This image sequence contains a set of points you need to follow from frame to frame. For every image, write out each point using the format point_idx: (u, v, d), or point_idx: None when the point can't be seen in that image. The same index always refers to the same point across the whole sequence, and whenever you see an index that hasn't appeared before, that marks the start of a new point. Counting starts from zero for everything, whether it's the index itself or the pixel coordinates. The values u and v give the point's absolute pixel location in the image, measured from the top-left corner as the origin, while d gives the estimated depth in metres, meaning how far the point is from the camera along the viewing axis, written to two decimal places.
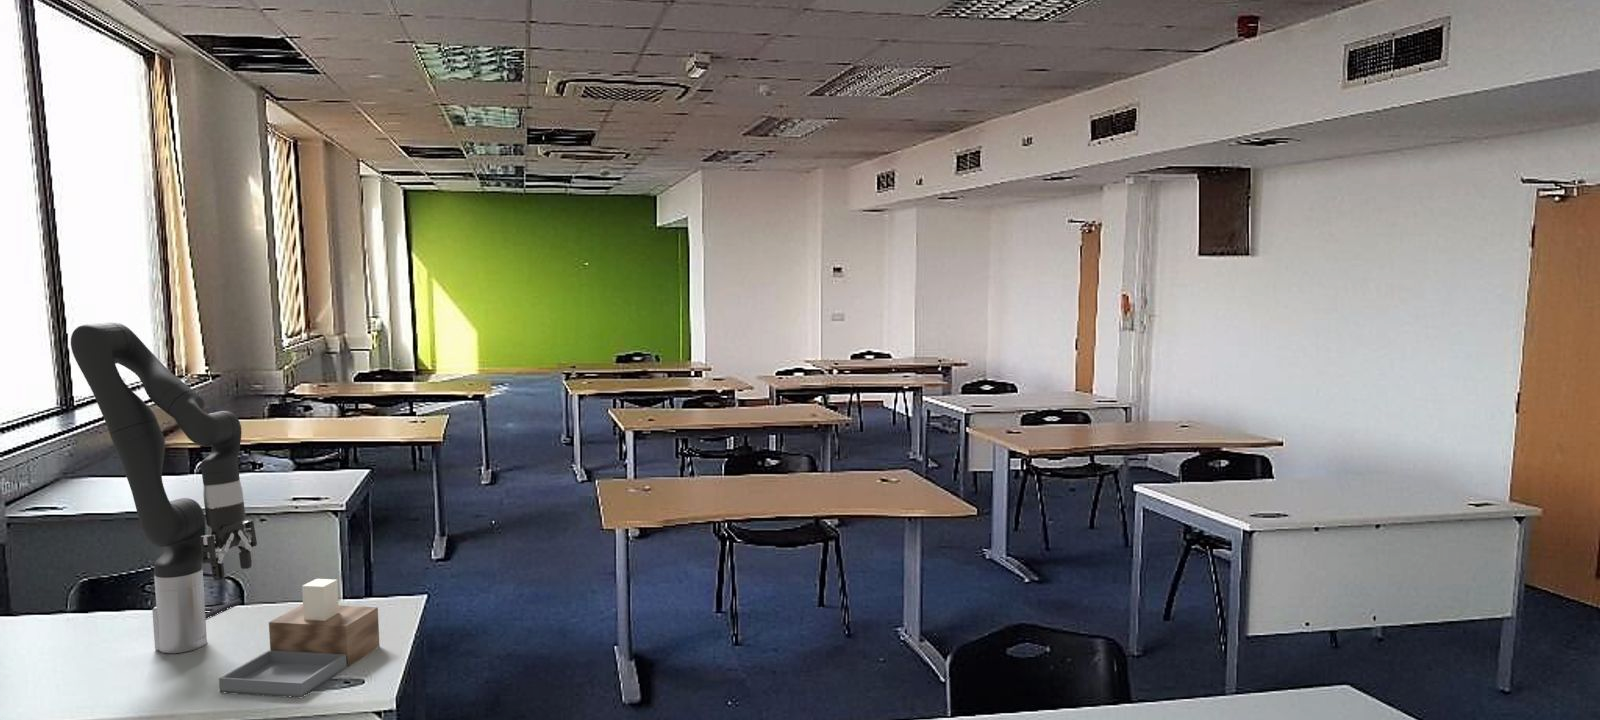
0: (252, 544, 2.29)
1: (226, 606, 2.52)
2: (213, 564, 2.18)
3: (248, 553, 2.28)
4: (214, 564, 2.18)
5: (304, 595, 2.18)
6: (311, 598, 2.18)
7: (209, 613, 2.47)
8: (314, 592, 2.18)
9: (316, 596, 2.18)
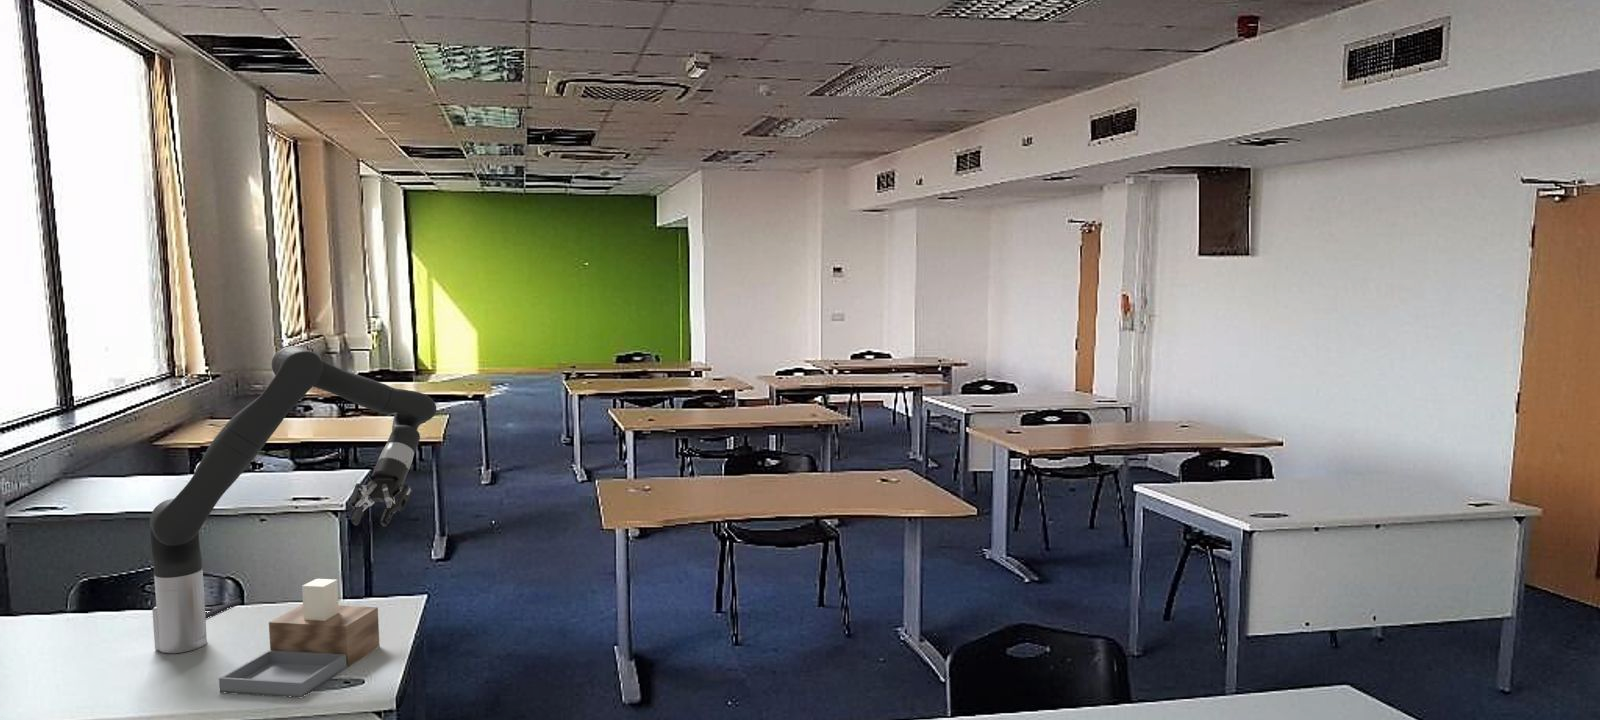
0: None
1: (226, 606, 2.52)
2: (393, 510, 2.40)
3: None
4: (393, 511, 2.40)
5: (304, 595, 2.18)
6: (311, 598, 2.18)
7: (209, 613, 2.47)
8: (314, 592, 2.18)
9: (316, 596, 2.18)
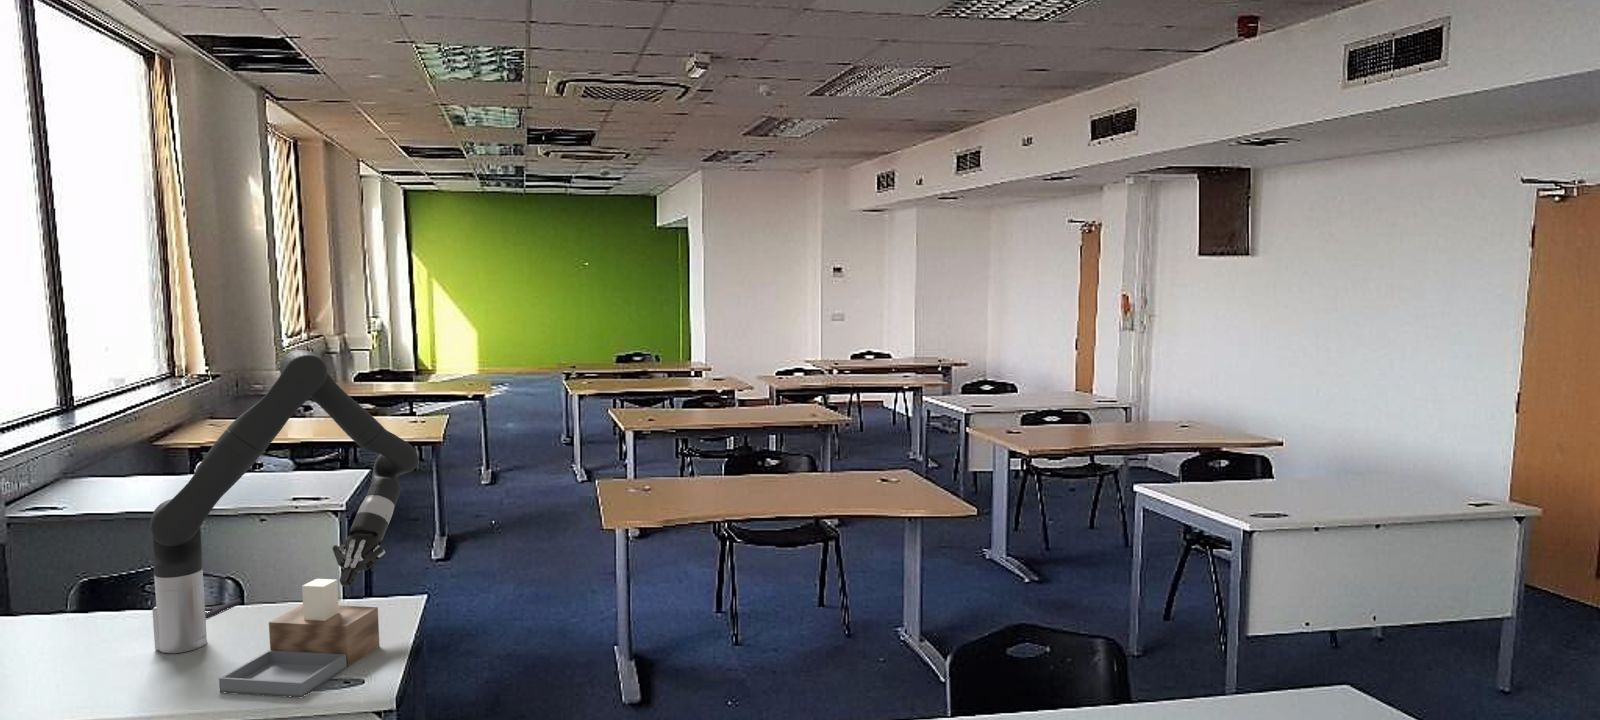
0: None
1: (226, 606, 2.52)
2: (357, 570, 2.31)
3: None
4: (358, 571, 2.31)
5: (304, 595, 2.18)
6: (311, 598, 2.18)
7: (209, 613, 2.47)
8: (314, 592, 2.18)
9: (316, 596, 2.18)
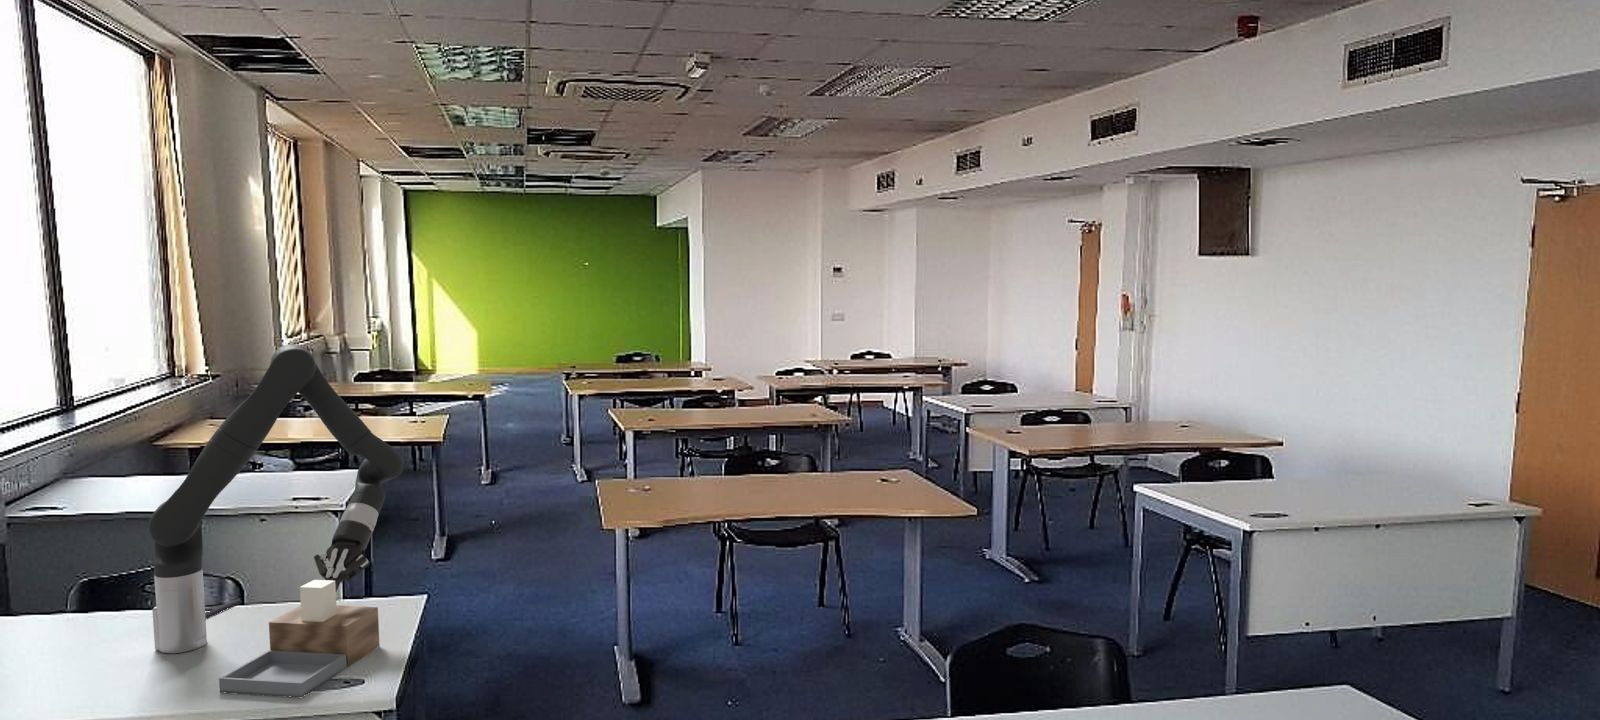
0: None
1: (226, 606, 2.52)
2: (339, 580, 2.25)
3: None
4: (340, 581, 2.25)
5: (302, 596, 2.17)
6: (309, 599, 2.17)
7: (209, 613, 2.47)
8: (312, 594, 2.17)
9: (314, 597, 2.17)
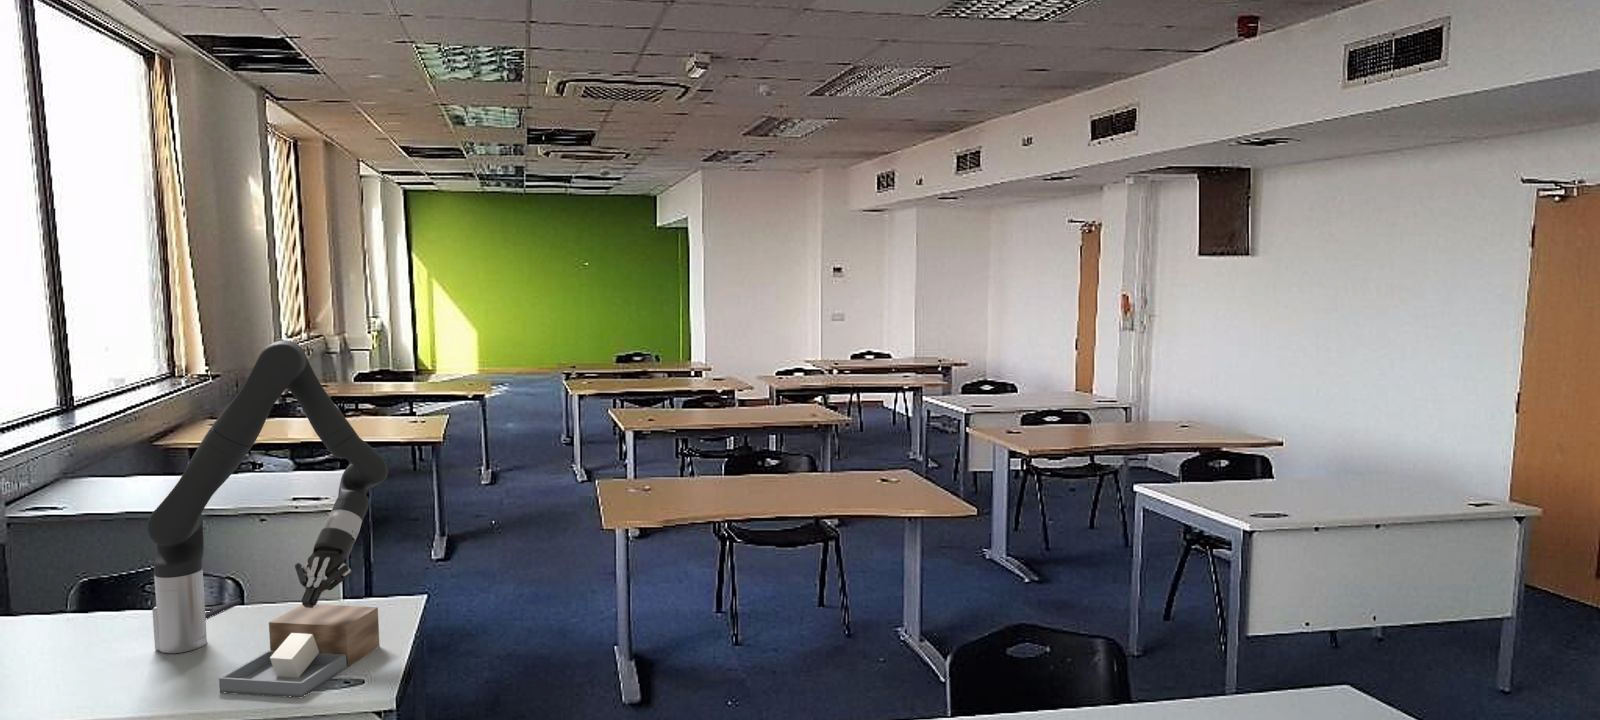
0: None
1: (226, 606, 2.52)
2: (321, 590, 2.18)
3: None
4: (321, 590, 2.18)
5: None
6: None
7: (209, 613, 2.47)
8: None
9: None
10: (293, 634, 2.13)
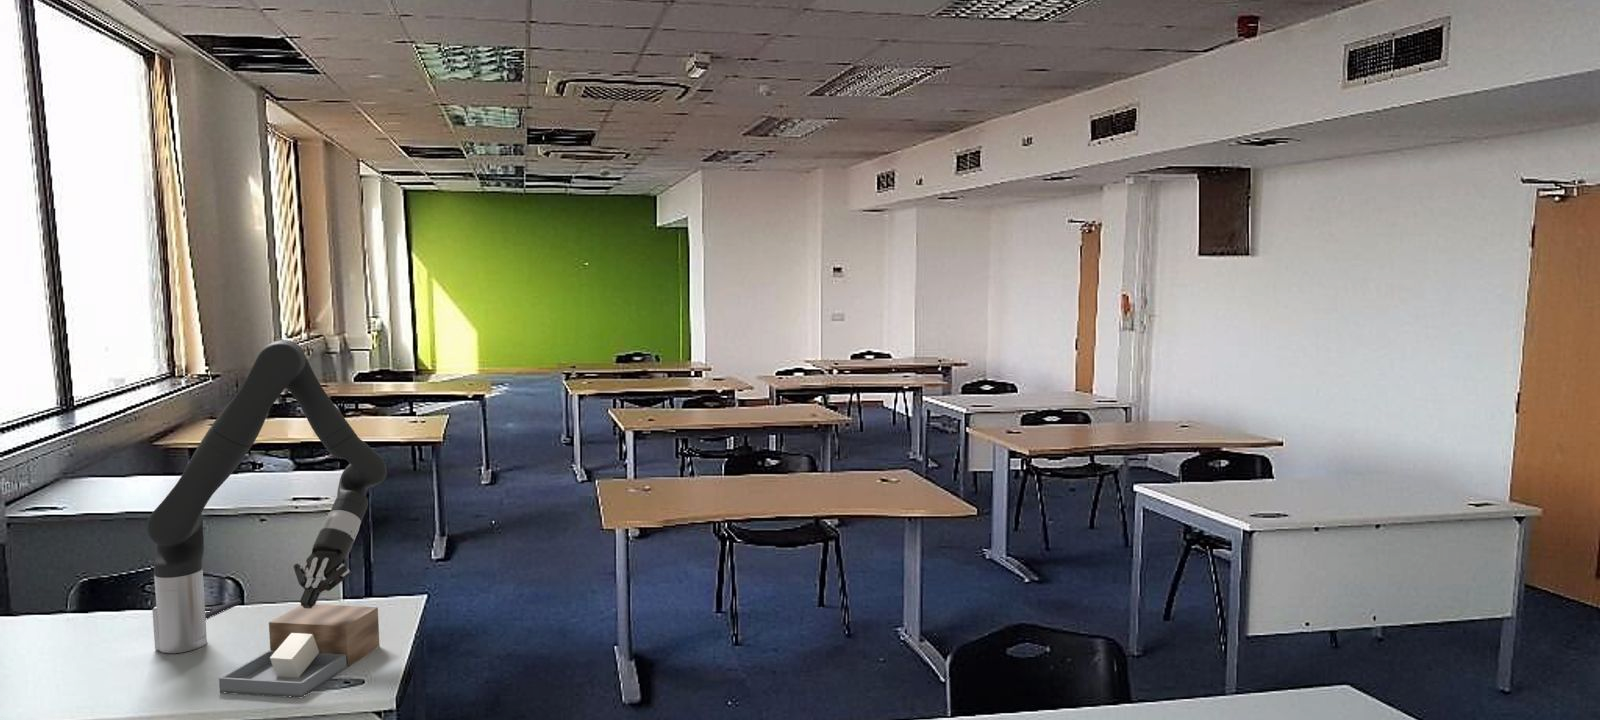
0: None
1: (226, 606, 2.52)
2: (319, 590, 2.17)
3: None
4: (320, 591, 2.18)
5: None
6: None
7: (209, 613, 2.47)
8: None
9: None
10: (293, 634, 2.13)
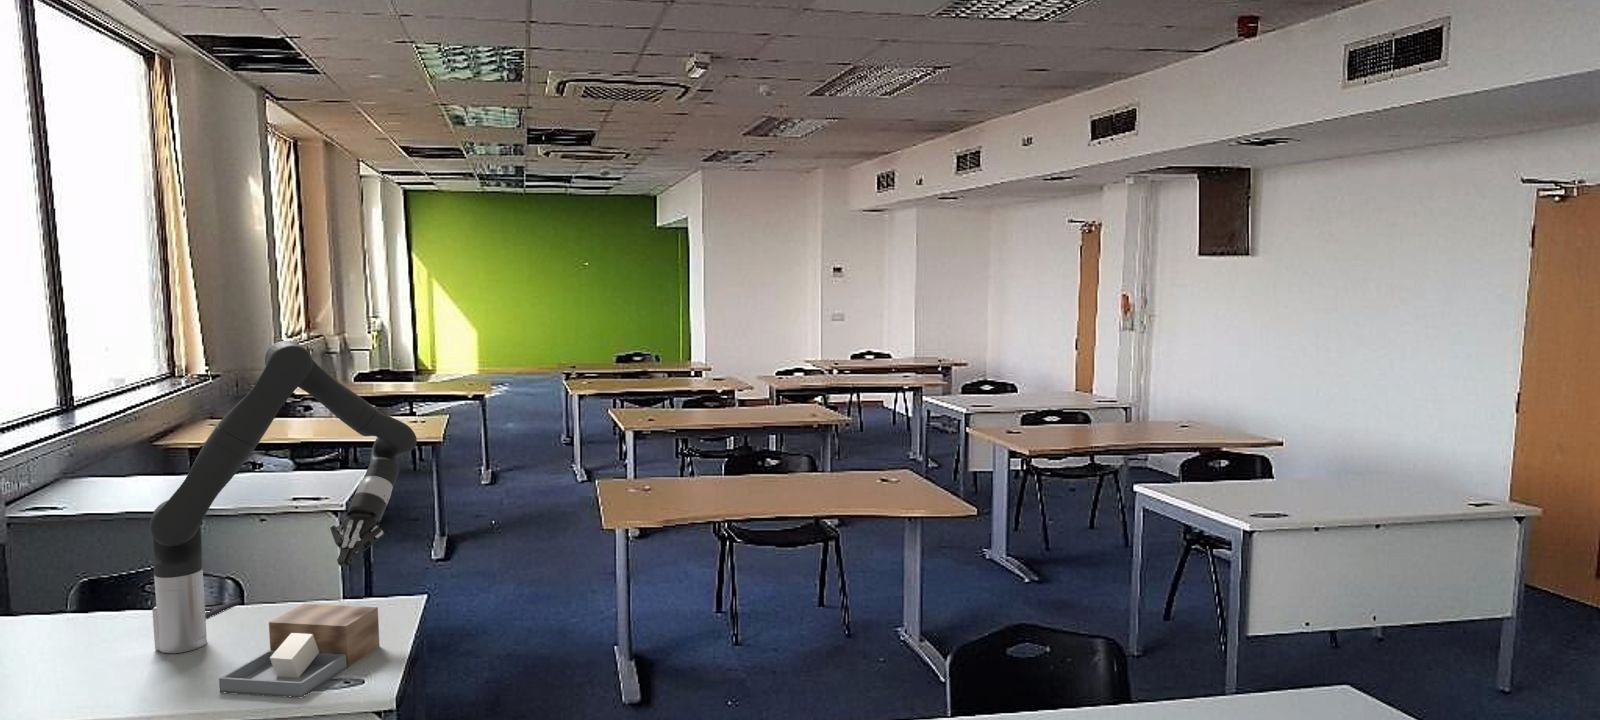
0: None
1: (226, 606, 2.52)
2: (355, 550, 2.30)
3: None
4: (355, 551, 2.30)
5: None
6: None
7: (209, 613, 2.47)
8: None
9: None
10: (293, 634, 2.13)
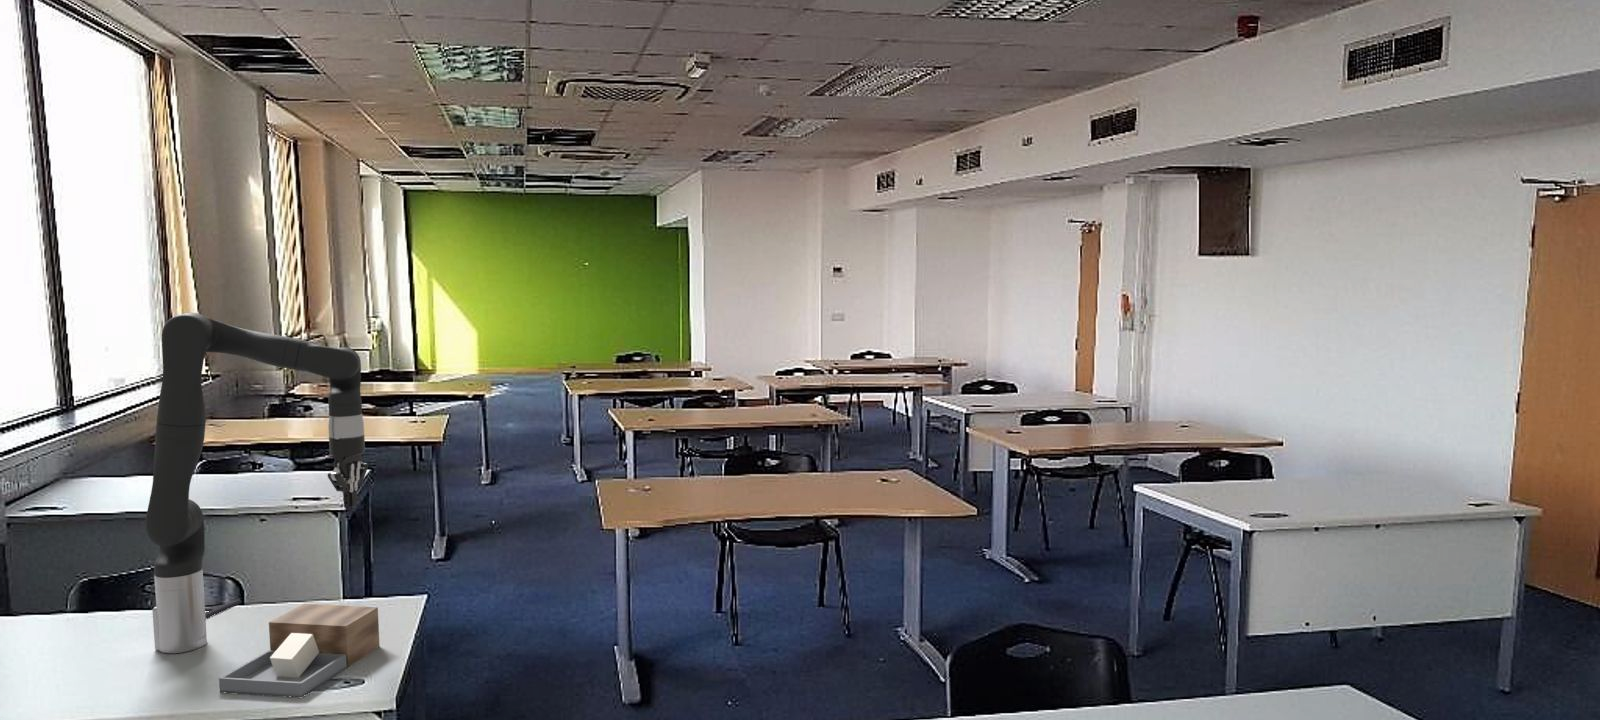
0: (358, 484, 2.37)
1: (226, 606, 2.52)
2: (345, 492, 2.34)
3: (354, 493, 2.36)
4: (346, 492, 2.34)
5: None
6: None
7: (209, 613, 2.47)
8: None
9: None
10: (293, 634, 2.13)
